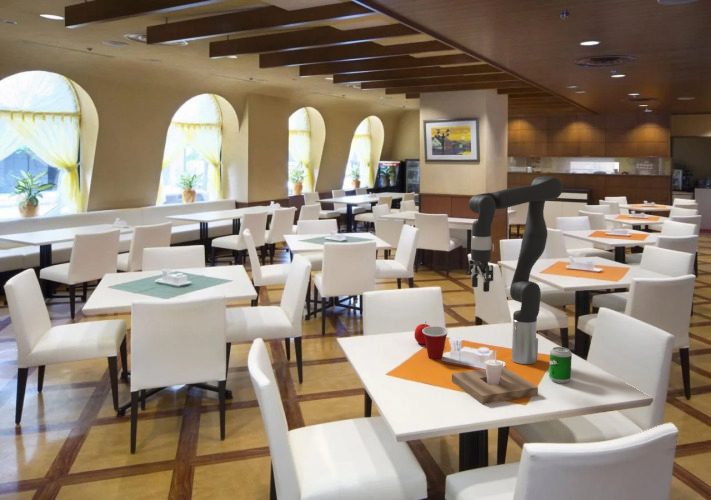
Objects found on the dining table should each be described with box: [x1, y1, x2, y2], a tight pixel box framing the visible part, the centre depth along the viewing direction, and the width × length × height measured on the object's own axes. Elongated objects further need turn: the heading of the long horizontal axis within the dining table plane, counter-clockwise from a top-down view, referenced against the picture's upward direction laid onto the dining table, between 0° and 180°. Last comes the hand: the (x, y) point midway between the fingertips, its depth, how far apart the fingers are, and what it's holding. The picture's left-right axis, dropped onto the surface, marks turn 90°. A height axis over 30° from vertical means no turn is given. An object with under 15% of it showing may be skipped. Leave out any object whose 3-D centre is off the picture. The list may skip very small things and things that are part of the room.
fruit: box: [414, 321, 431, 346], centre depth 266 cm, size 9×9×10 cm
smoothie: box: [484, 350, 504, 385], centre depth 214 cm, size 6×6×14 cm
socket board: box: [451, 366, 539, 405], centre depth 215 cm, size 22×22×3 cm
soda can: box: [548, 346, 573, 384], centre depth 221 cm, size 8×8×12 cm
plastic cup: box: [422, 325, 449, 360], centre depth 247 cm, size 11×11×12 cm
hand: (480, 289), depth 229 cm, fingers open, 8 cm apart
